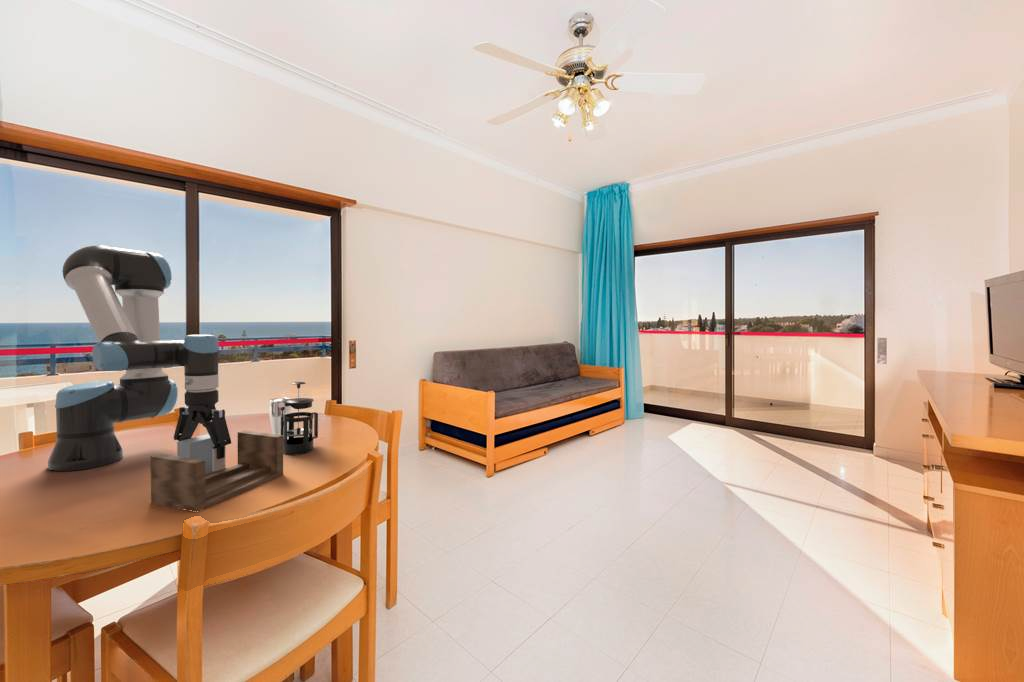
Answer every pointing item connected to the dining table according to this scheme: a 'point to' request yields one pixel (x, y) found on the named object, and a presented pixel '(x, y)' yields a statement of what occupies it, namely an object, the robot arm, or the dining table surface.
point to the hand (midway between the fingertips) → (202, 467)
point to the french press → (298, 443)
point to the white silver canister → (278, 415)
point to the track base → (216, 474)
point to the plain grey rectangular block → (198, 450)
